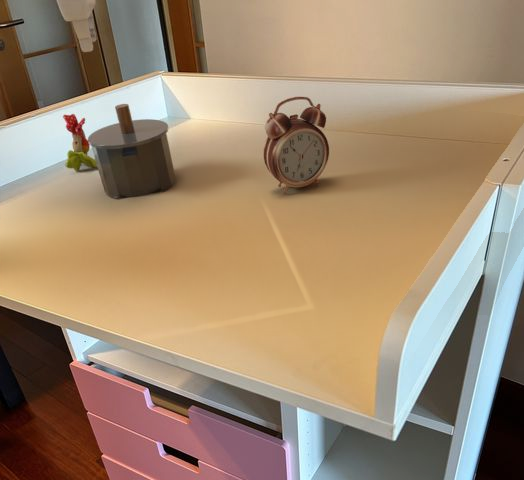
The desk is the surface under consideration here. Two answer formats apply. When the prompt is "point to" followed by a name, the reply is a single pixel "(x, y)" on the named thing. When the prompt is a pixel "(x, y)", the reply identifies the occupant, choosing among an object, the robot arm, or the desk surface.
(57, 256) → the desk surface
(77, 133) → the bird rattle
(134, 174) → the pot
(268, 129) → the alarm clock
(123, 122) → the lid
